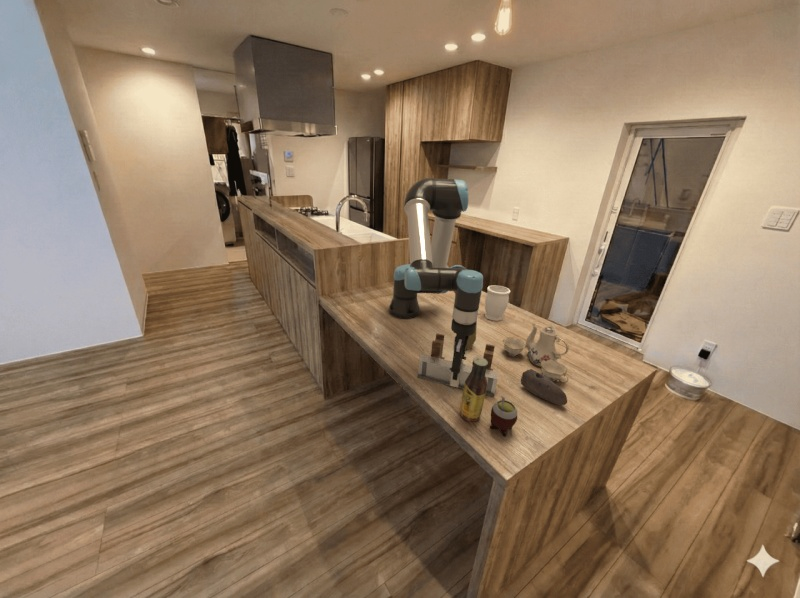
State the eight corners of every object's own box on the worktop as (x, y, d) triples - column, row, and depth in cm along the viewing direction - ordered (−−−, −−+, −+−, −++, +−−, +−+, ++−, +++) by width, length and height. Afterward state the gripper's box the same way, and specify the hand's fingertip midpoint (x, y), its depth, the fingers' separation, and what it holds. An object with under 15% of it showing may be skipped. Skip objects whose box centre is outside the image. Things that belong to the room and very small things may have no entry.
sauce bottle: (457, 407, 99) (465, 353, 91) (476, 407, 99) (486, 353, 91) (462, 424, 93) (472, 367, 85) (483, 423, 93) (495, 366, 85)
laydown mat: (417, 377, 111) (417, 375, 111) (421, 368, 116) (421, 366, 116) (493, 397, 104) (494, 395, 104) (495, 386, 109) (495, 385, 108)
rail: (418, 374, 112) (419, 360, 109) (421, 368, 115) (422, 354, 113) (494, 394, 104) (497, 379, 102) (495, 386, 108) (498, 372, 105)
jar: (502, 313, 161) (508, 285, 155) (506, 323, 152) (512, 294, 146) (481, 311, 162) (485, 284, 156) (484, 321, 153) (489, 292, 147)
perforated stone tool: (568, 406, 102) (574, 388, 99) (560, 413, 99) (566, 395, 96) (526, 381, 112) (530, 365, 109) (517, 387, 109) (521, 370, 106)
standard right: (476, 378, 112) (481, 352, 108) (479, 367, 118) (483, 342, 114) (491, 382, 111) (496, 356, 106) (492, 371, 117) (497, 345, 112)
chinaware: (492, 355, 129) (497, 320, 122) (518, 340, 138) (523, 306, 130) (558, 395, 109) (568, 355, 101) (584, 374, 117) (595, 336, 110)
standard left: (426, 366, 117) (429, 341, 113) (431, 356, 123) (434, 332, 119) (440, 369, 116) (443, 344, 112) (444, 359, 122) (447, 335, 118)
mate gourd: (508, 418, 95) (518, 377, 89) (518, 440, 88) (530, 397, 82) (483, 418, 95) (492, 377, 89) (491, 440, 88) (501, 397, 82)
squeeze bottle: (475, 342, 134) (482, 303, 127) (473, 352, 127) (480, 312, 120) (456, 338, 137) (462, 300, 129) (453, 348, 130) (458, 308, 122)
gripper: (472, 335, 91) (462, 400, 100) (480, 310, 107) (470, 368, 116) (446, 330, 93) (438, 394, 102) (457, 306, 109) (450, 363, 118)
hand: (455, 380), depth 109 cm, fingers open, 5 cm apart
